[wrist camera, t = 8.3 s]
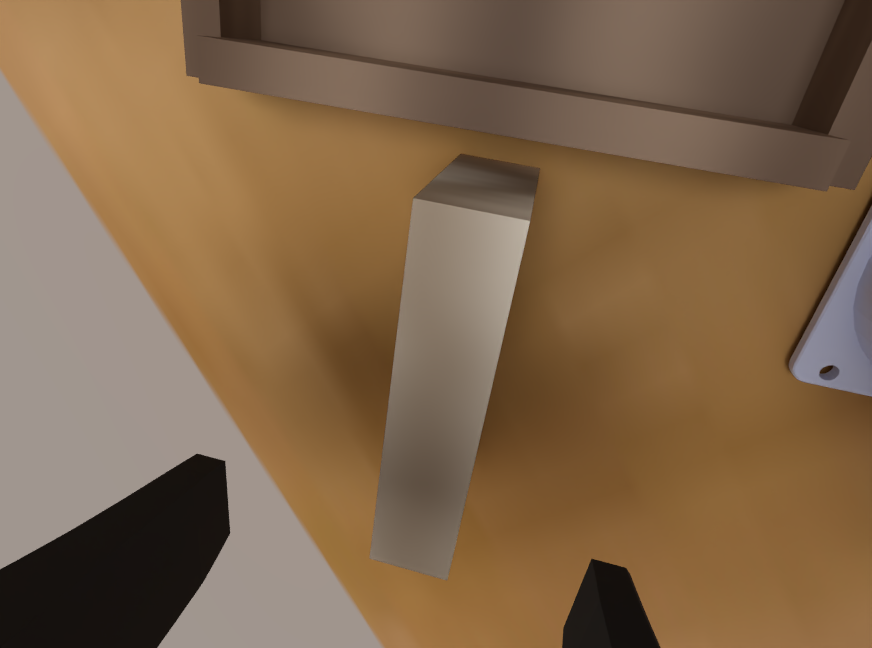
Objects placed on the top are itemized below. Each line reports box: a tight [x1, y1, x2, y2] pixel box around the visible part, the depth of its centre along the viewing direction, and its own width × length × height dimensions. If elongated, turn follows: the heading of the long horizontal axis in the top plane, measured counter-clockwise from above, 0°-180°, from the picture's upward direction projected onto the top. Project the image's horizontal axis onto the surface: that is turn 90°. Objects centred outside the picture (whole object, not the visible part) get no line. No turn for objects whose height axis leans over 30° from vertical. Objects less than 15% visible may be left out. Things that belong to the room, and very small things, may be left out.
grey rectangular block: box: [370, 154, 540, 580], centre depth 16 cm, size 2×11×6 cm, turn 172°
